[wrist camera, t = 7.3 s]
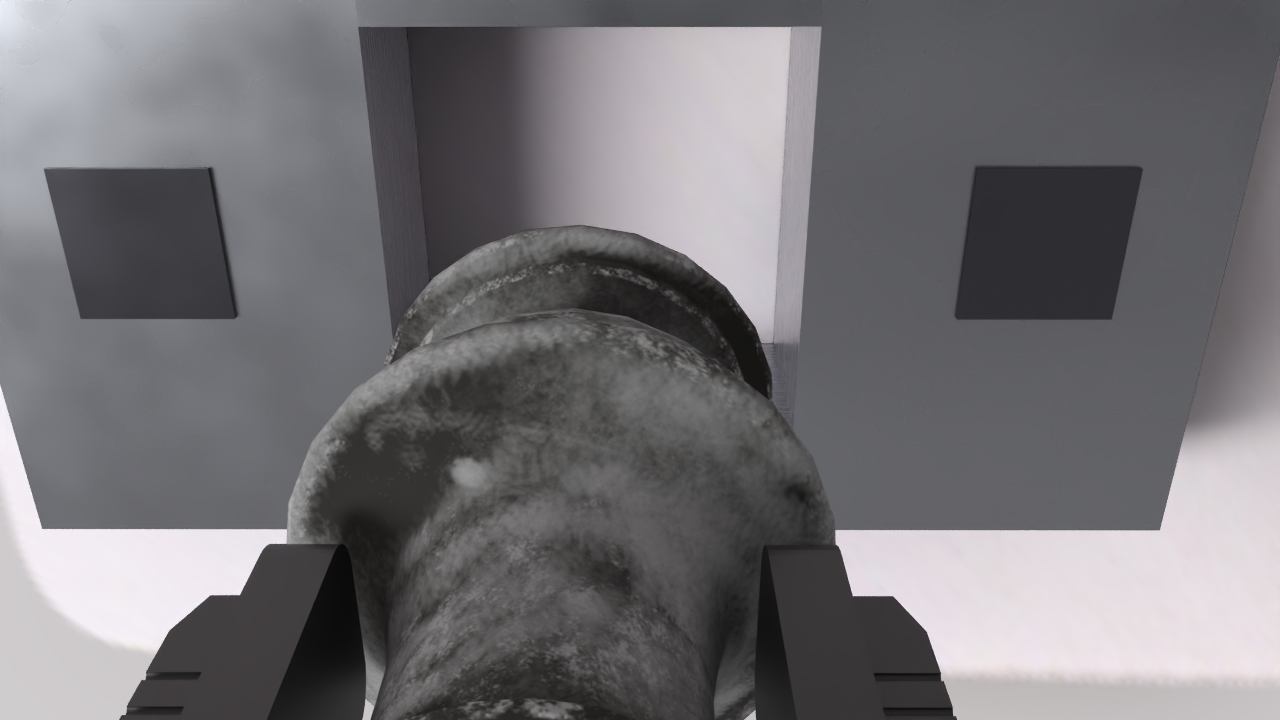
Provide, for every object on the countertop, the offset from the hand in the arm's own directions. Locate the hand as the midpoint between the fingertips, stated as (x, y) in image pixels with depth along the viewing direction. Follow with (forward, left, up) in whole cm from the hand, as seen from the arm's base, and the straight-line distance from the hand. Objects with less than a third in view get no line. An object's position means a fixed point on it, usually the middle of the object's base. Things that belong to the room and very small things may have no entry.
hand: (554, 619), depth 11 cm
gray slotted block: (0, 0, -15) cm, 15 cm away
